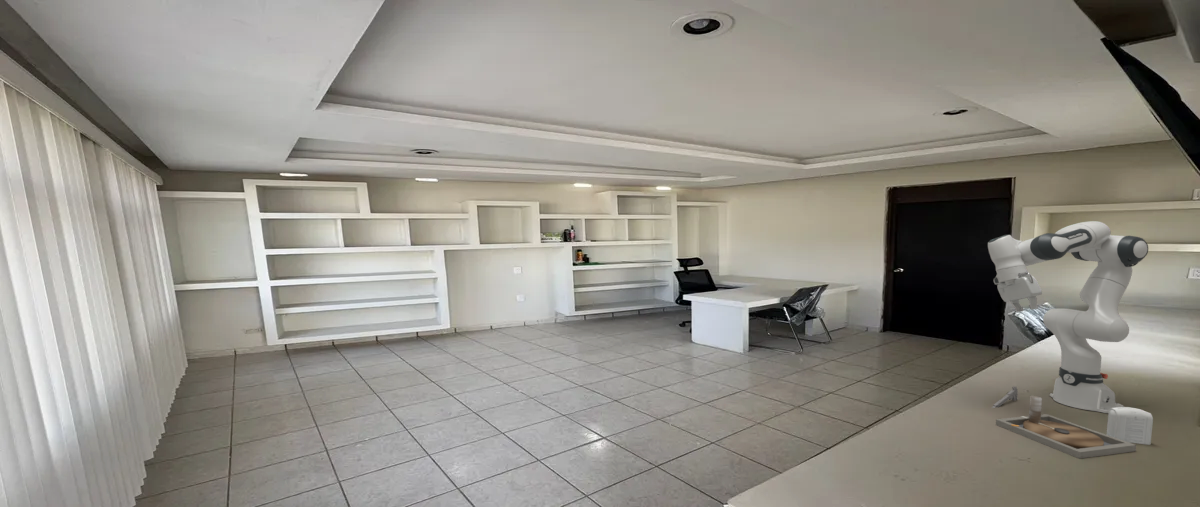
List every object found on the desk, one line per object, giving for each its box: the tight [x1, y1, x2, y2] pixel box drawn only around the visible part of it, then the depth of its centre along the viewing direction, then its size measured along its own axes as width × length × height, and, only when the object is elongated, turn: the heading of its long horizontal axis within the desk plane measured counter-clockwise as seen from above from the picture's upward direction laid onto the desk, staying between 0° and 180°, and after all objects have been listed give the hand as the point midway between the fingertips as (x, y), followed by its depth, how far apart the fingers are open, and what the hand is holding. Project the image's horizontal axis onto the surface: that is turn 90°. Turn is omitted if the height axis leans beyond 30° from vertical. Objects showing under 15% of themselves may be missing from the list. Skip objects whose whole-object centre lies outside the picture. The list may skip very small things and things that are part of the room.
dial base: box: [995, 413, 1137, 459], centre depth 151 cm, size 24×24×3 cm
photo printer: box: [1106, 406, 1154, 446], centre depth 149 cm, size 10×4×12 cm, turn 72°
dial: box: [1023, 395, 1104, 449], centre depth 151 cm, size 19×19×11 cm
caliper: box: [991, 385, 1019, 409], centre depth 182 cm, size 20×1×6 cm, turn 118°
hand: (1027, 310), depth 169 cm, fingers open, 8 cm apart
